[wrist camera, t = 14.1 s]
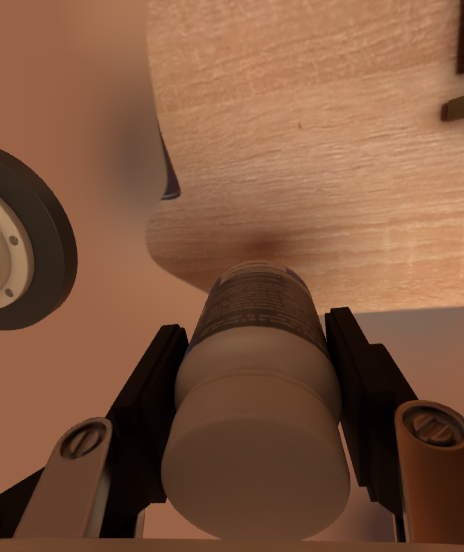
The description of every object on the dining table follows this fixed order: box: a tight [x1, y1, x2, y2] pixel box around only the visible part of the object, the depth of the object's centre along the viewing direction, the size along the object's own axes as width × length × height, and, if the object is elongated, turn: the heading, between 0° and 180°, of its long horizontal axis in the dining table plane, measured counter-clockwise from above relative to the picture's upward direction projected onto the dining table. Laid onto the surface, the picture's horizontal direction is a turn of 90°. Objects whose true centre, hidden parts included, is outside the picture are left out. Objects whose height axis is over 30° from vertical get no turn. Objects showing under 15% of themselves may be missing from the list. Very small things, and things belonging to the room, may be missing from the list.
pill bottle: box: [161, 260, 350, 541], centre depth 10 cm, size 5×5×8 cm
